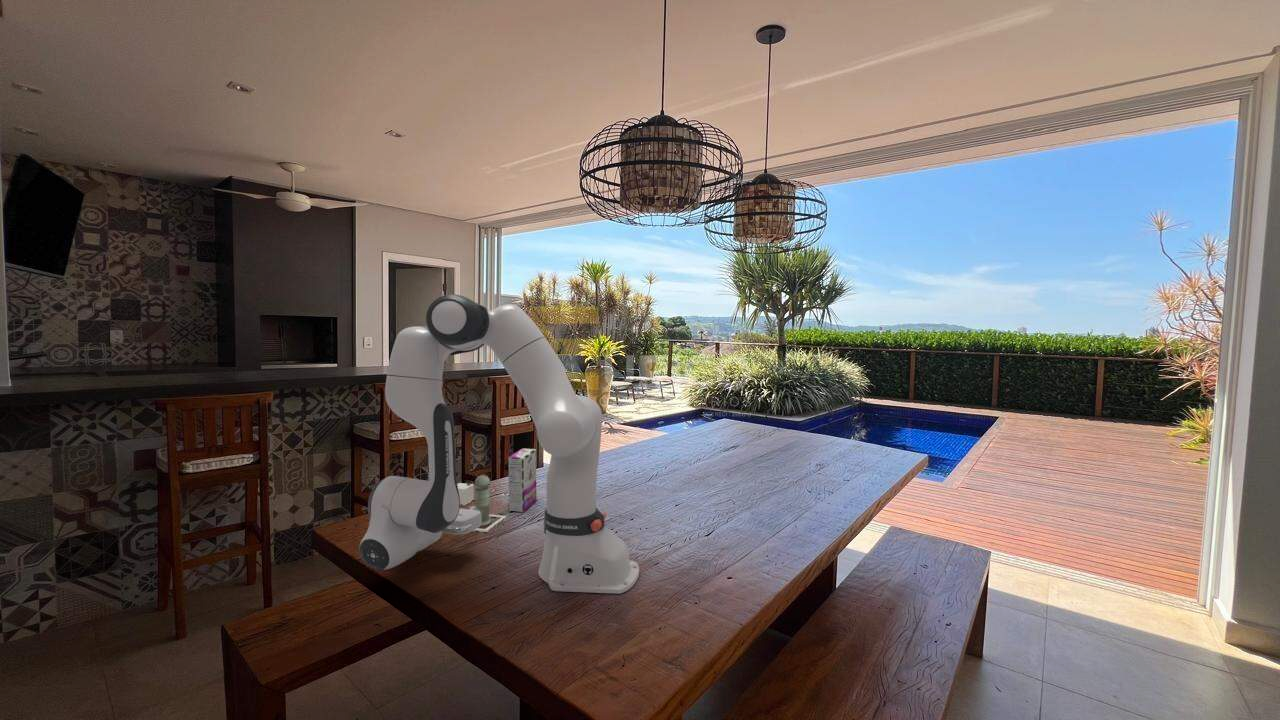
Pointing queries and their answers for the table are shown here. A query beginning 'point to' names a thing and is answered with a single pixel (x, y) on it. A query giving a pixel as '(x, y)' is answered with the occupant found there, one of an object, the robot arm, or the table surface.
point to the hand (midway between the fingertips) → (456, 506)
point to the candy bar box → (522, 479)
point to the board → (492, 524)
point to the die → (465, 493)
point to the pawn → (483, 498)
